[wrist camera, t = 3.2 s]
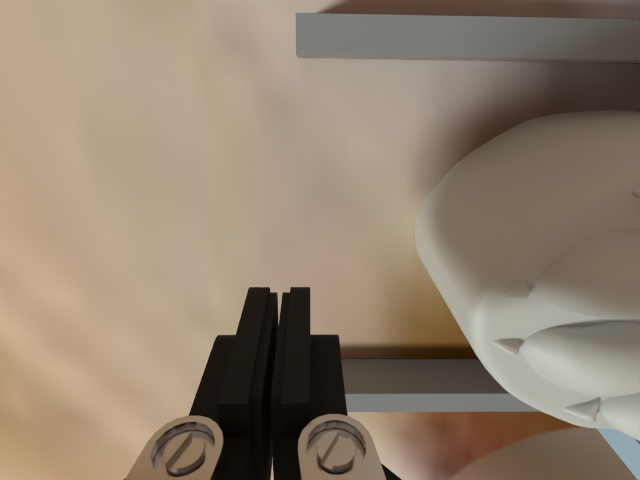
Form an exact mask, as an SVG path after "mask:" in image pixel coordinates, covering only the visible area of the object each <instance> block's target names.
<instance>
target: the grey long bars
mask: <svg viewBox="0 0 640 480" xmlns="http://www.w3.org/2000/svg"><path fill="white" fill-rule="evenodd" d="M296 55H297V56H298V57H299V58H345V59H407V60H469V61H531V62H593V63H640V19H600V18H546V17H492V16H438V15H383V14H329V13H296ZM341 361H342V370H343V379H344V388H345V398H346V407H347V412H472V411H540V410H538V409H536V408H534V407H532V406H530V405H528V404H526V403H524V402H522V401H521V400H519V399H517V398H516V397H514V396H513V395H511V394H510V393H509V392H507V391H506V390H505V389H504V388H503V387H502V386H501V385H500V384H499V383H498V382H497V381H496V380H495V379H494V378H493V377H492V375H491V374H490V373H489V372H488V371H487V369H486V368H485V367H484V366H483V364H482V363H481V361H480V360H479V359H341Z"/></svg>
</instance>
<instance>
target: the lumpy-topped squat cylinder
mask: <svg viewBox="0 0 640 480" xmlns="http://www.w3.org/2000/svg"><path fill="white" fill-rule="evenodd" d="M415 242H416V248H417V251H418V254H419V256H420V259H421V261H422V262H423V264H424V266H425V268H426V269H427V271H428V273H429V274H430V276H431V278H432V280H433V281H434V283H435V285H436V287H437V288H438V290H439V292H440V293H441V295H442V297H443V299H444V300H445V302H446V304H447V305H448V307H449V309H450V311H451V312H452V314H453V316H454V318H455V319H456V321H457V323H458V324H459V326H460V328H461V330H462V331H463V333H464V335H465V336H466V338H467V340H468V342H469V343H470V345H471V347H472V349H473V350H474V352H475V354H476V355H477V357H478V358H479V360H480V361H481V363H482V364H483V366H484V367H485V368H486V369H487V371H488V372H489V373H490V374H491V375H492V377H493V378H494V379H495V380H496V381H497V382H498V383H499V384H500V385H501V386H502V387H503V388H504V389H505V390H506V391H507V392H509V393H510V394H511V395H513V396H514V397H516V398H517V399H519V400H521V401H522V402H524V403H526V404H528V405H530V406H532V407H534V408H536V409H538V410H540V411H542V412H544V413H547V414H549V415H551V416H554V417H556V418H558V419H561V420H563V421H566V422H568V423H571V424H574V425H578V426H581V427H587V428H599V429H617V430H619V431H621V432H622V433H624V434H626V435H628V436H630V437H632V438H634V439H636V440H639V441H640V111H629V110H593V111H578V112H567V113H558V114H551V115H546V116H541V117H537V118H533V119H530V120H527V121H525V122H523V123H521V124H518V125H516V126H514V127H513V128H511V129H509V130H507V131H505V132H503V133H502V134H500V135H498V136H496V137H495V138H493V139H491V140H489V141H488V142H486V143H485V144H483V145H481V146H480V147H478V148H477V149H475V150H474V151H472V152H471V153H469V154H468V155H466V156H465V157H464V158H462V159H461V160H460V161H459V162H458V163H456V164H455V165H454V166H453V167H452V168H451V169H450V170H449V171H448V172H447V173H446V174H445V176H444V177H443V178H442V179H441V180H440V181H439V182H438V184H437V185H436V186H435V187H434V189H433V190H432V191H431V193H430V194H429V196H428V197H427V199H426V200H425V202H424V204H423V205H422V207H421V210H420V212H419V214H418V218H417V222H416V227H415Z"/></svg>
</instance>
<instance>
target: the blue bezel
mask: <svg viewBox="0 0 640 480" xmlns="http://www.w3.org/2000/svg"><path fill="white" fill-rule="evenodd" d="M597 429H598V431H599V432H600V433H601V434H602V436H603V437H604V438H605V439H606V441H607V442H608V443H609V444H610V446H611V447H612V448H613V449H614V451H615V452H616V453H617V454H618V456H619V457H620V458H621V459H622V461H623V462H624V463H625V464H626V466H627V467H628V468H629V469H630V471H631V472H632V473H633V474H634V476H635V477H636V478H637V479H638V480H640V441H639V440H636V439H634V438H632V437H630V436H628V435H626V434H624V433H622V432H621V431H619V430H617V429H599V428H597Z"/></svg>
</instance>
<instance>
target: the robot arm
mask: <svg viewBox="0 0 640 480" xmlns="http://www.w3.org/2000/svg"><path fill="white" fill-rule="evenodd" d="M272 457H273V472H274V480H401V479H400V478H399V477H398V476H396V475H395V474H394V473H393V472H391V471H390V470H389V469H388V468H386V467H385V466H384V465H383V464H381V462H380V459H379V456H378V454H377V451H376V448H375V445H374V442H373V439H372V437H371V435H370V434H369V432H368V430H367V429H366V428H365V427H364V426H363V425H362V424H361V423H360V422H359V421H357V420H355V419H353V418H352V417H349V416H347V407H346V398H345V388H344V379H343V370H342V361H341V352H340V343H339V336H338V335H310V287H291V289H290V293H283V295H282V304H281V312H280V321H279V326H278V299H277V293H270V288H269V287H250V288H249V290H248V293H247V297H246V300H245V304H244V307H243V311H242V315H241V318H240V322H239V326H238V329H237V333H236V335H218V336H217V337H216V339H215V342H214V345H213V348H212V350H211V353H210V356H209V359H208V362H207V365H206V368H205V370H204V373H203V376H202V379H201V382H200V385H199V388H198V391H197V393H196V396H195V399H194V402H193V405H192V408H191V411H190V414H189V416H185V417H182V418H178V419H175V420H173V421H171V422H169V423H167V424H165V425H164V426H163V427H162V428H160V429H159V430H158V431H157V432H155V433H154V435H153V436H152V437H151V439H150V440H149V441H148V442H147V444H146V445H145V447H144V449H143V450H142V452H141V454H140V455H139V457H138V459H137V460H136V462H135V464H134V465H133V467H132V469H131V470H130V472H129V474H128V475H127V477H126V478H125V479H124V480H270V478H271V467H272Z"/></svg>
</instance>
